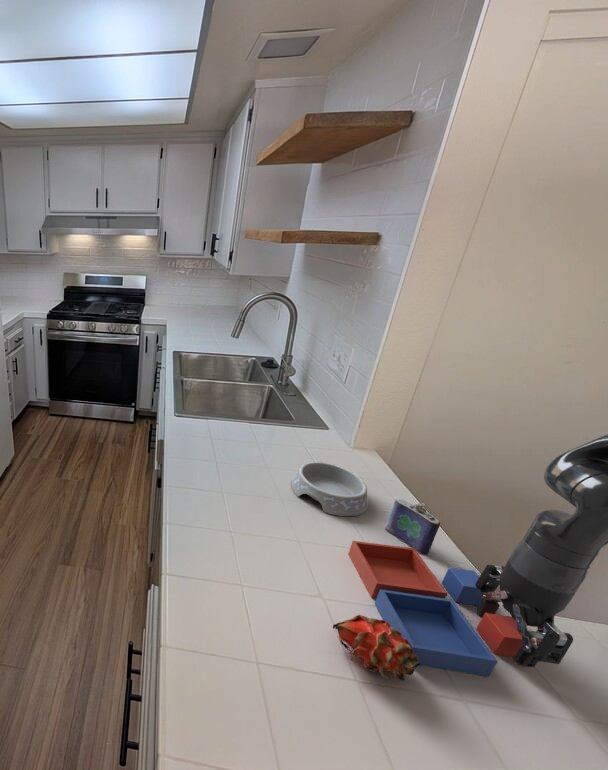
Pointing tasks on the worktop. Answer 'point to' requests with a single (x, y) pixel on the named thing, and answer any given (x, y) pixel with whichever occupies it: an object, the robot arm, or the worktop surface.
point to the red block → (500, 634)
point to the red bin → (393, 570)
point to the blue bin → (436, 632)
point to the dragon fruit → (378, 646)
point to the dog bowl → (332, 488)
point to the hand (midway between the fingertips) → (501, 638)
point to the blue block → (462, 586)
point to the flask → (412, 525)
